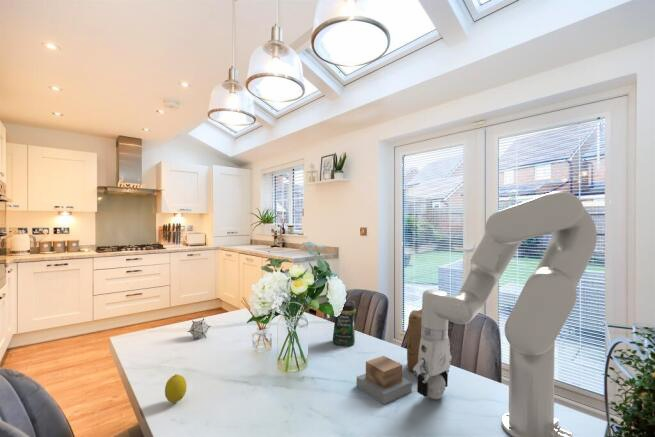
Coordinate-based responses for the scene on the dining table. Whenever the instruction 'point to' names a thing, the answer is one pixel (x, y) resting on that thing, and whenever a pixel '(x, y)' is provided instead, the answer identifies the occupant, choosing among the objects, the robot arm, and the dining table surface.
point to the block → (413, 338)
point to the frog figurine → (436, 386)
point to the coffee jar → (345, 325)
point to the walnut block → (384, 371)
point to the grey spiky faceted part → (199, 329)
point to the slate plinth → (381, 393)
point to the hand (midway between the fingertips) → (432, 389)
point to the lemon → (175, 388)
